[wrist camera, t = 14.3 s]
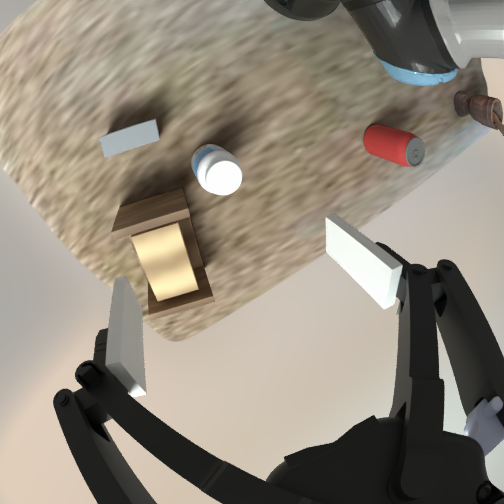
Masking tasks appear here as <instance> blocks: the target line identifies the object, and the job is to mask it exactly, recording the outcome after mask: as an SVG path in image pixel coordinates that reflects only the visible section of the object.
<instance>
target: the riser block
mask: <svg viewBox="0 0 504 504" xmlns="http://www.w3.org/2000/svg"><path fill="white" fill-rule="evenodd" d="M99 139H100V142H101V146H102V150H103V154H104V157H105V158H106V157H109V156H112V155H115V154H118V153H121V152H124V151H127V150H130V149H133V148H136V147H139V146H142V145H145V144H149V143H152V142H155V141H159V140H160V134H159V130H158V125H157V121H156V118H155V119H151V120H148V121H145V122H141V123H138V124H135V125H132V126H129V127H126V128H123V129H120V130H117V131H114V132H111V133H108V134H106V135H104V136H102V137H100V138H99Z"/></svg>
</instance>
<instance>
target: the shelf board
mask: <svg viewBox="0 0 504 504" xmlns="http://www.w3.org/2000/svg"><path fill="white" fill-rule="evenodd" d="M131 239H132V241H133V244H134V246H135V249H136V251H137V254H138V256H139V259H140V261H141V264H142V266H143V269H144V271H145V273H146V276H147V278H148V280H149V283H150V285H151V287H152V289H153V292H154V294H155V296H156V298H157V300H158V301H161V300H164V299H168V298H171V297H174V296H178V295H181V294H185V293H188V292H191V291H195V290H198V285H197V281H196V277H195V274H194V271H193V268H192V265H191V262H190V259H189V255H188V252H187V249H186V246H185V243H184V239H183V236H182V233H181V229H180V226H179V222H178V220H177V221H174V222H171V223H167V224H164V225H161V226H157V227H154V228H151V229H148V230H144V231H141V232H138V233H135V234H132V235H131Z"/></svg>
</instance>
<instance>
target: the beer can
mask: <svg viewBox="0 0 504 504" xmlns="http://www.w3.org/2000/svg"><path fill="white" fill-rule="evenodd" d="M364 146H365V148H366V150H367V151H368V152H369V153H370V154H372V155H375V156H378V157H380V158H383V159H386V160H389V161H391V162H394V163H396V164H399V165H402V166H407V167H411V166H412V167H417V166H418V165H420V164H421V162H422V161H423V158H424V155H425V146H424V143H423V141H422V140H421V139H420V138H418V137H417V136H415V135H414V134H412V133H410V132H406V131H403V130H399V129H395V128H390V127H386V126H382V125H376V124H375V125H372V126H370V127H369V128H368V129H367V130H366V132H365V135H364Z"/></svg>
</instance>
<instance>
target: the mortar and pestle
mask: <svg viewBox="0 0 504 504" xmlns="http://www.w3.org/2000/svg"><path fill="white" fill-rule="evenodd" d="M454 103H455V109H456V112H457V114H458V115H459V116H466V115H468V113H469V114H470V115H471V116H472V118H473V119H474V120H476V121H478V122H479V123H481V124H482V125H484V126H488V127H490V128H493V129H496V130H498V129H499V130H500V132H501V133H502V134H503V136H504V125H503V124H502V118H503V112H502V105H501V101H500V100H499V99H497V98H493V97H489V96H484V95H475V96H472V97H471V98H470V99H469V98H468V96H467V95H466V94H465V93H463V92H458V93H457V94H456V96H455V100H454Z"/></svg>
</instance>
